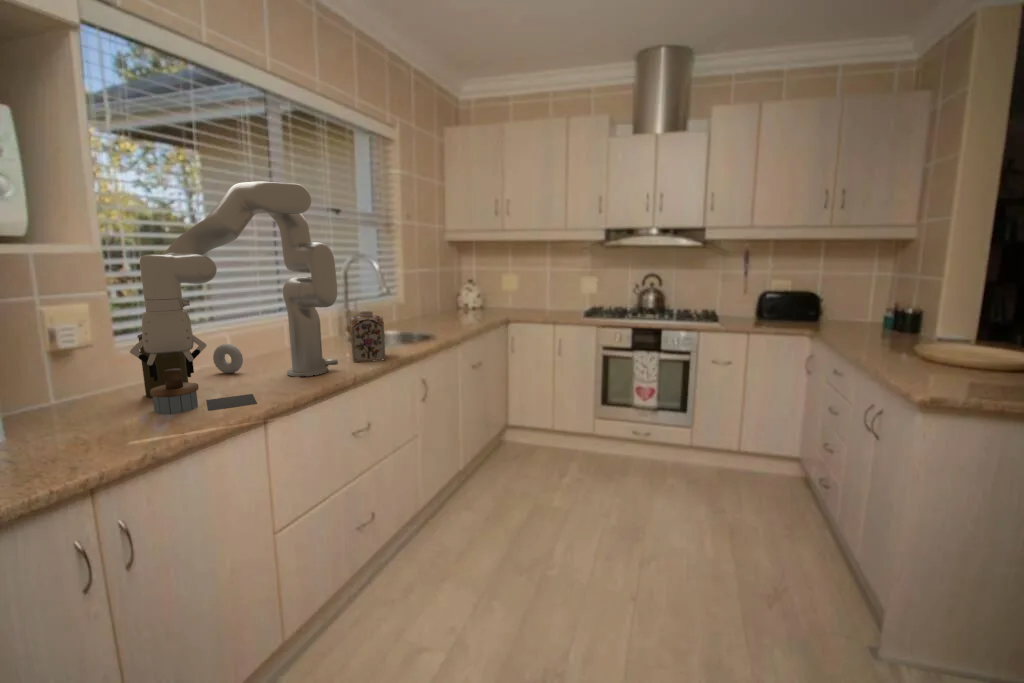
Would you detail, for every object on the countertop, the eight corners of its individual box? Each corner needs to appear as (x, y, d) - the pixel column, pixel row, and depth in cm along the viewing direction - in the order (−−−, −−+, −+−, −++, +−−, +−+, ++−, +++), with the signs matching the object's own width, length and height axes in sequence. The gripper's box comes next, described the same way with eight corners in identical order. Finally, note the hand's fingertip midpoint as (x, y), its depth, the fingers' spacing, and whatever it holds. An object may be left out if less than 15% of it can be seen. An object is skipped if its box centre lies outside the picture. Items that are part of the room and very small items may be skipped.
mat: (252, 395, 138) (252, 393, 137) (257, 405, 128) (257, 403, 128) (206, 402, 132) (206, 399, 131) (208, 413, 123) (207, 410, 122)
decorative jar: (352, 362, 180) (349, 313, 177) (351, 356, 191) (349, 310, 188) (386, 360, 184) (384, 312, 181) (383, 354, 195) (381, 309, 191)
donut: (212, 374, 162) (208, 344, 161) (219, 371, 166) (216, 342, 164) (239, 375, 161) (236, 345, 159) (246, 372, 164) (243, 343, 162)
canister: (160, 402, 131) (150, 328, 128) (136, 397, 135) (127, 325, 132) (200, 392, 141) (192, 322, 137) (177, 388, 145) (169, 320, 142)
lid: (198, 384, 130) (195, 363, 129) (199, 393, 122) (196, 371, 121) (151, 389, 125) (148, 368, 124) (149, 399, 117) (146, 376, 116)
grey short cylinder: (197, 403, 131) (195, 385, 130) (198, 412, 123) (196, 392, 122) (156, 409, 126) (153, 389, 125) (154, 418, 118) (151, 398, 117)
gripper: (205, 303, 128) (212, 370, 131) (121, 306, 118) (131, 379, 121) (206, 305, 121) (214, 376, 124) (117, 309, 112) (128, 386, 115)
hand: (173, 377), depth 123 cm, fingers open, 6 cm apart
